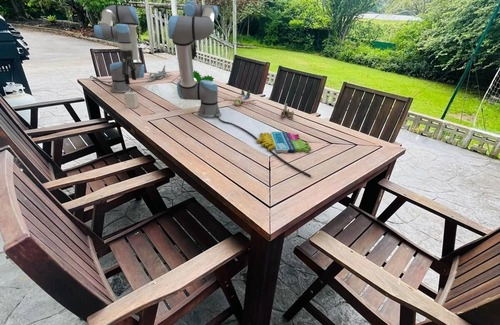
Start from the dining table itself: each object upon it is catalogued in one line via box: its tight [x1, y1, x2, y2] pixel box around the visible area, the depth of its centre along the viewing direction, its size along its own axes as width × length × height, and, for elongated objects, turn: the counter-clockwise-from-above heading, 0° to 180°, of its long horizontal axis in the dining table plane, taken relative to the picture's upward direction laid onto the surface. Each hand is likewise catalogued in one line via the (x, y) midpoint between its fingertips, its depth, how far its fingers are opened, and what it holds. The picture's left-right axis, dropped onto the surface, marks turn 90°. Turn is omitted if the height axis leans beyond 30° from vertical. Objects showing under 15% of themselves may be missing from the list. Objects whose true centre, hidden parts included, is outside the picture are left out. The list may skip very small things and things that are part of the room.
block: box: [123, 91, 139, 109], centre depth 189 cm, size 7×6×10 cm
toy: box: [223, 89, 257, 106], centre depth 219 cm, size 28×7×30 cm
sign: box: [256, 131, 312, 154], centre depth 152 cm, size 26×2×30 cm
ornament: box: [193, 69, 215, 83], centre depth 248 cm, size 21×8×15 cm, turn 105°
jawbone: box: [280, 103, 295, 120], centre depth 192 cm, size 9×15×10 cm
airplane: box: [145, 65, 172, 83], centre depth 274 cm, size 38×31×10 cm
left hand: (131, 82), depth 186 cm, fingers open, 13 cm apart
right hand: (193, 57), depth 197 cm, fingers open, 13 cm apart
